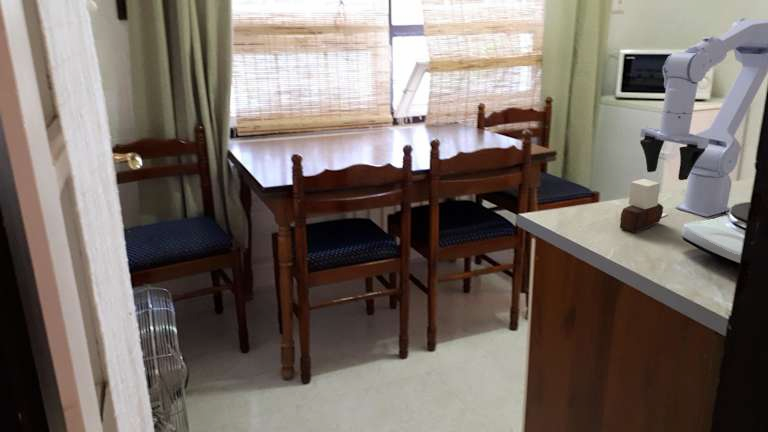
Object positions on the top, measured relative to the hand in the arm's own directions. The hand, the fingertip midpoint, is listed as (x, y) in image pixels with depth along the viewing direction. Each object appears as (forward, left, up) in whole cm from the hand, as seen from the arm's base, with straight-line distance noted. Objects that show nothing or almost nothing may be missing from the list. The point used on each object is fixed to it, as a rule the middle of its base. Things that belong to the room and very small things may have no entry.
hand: (666, 175), depth 127 cm
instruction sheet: (0, -4, -10) cm, 11 cm away
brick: (+6, 0, -11) cm, 12 cm away
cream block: (+7, 0, -6) cm, 9 cm away
